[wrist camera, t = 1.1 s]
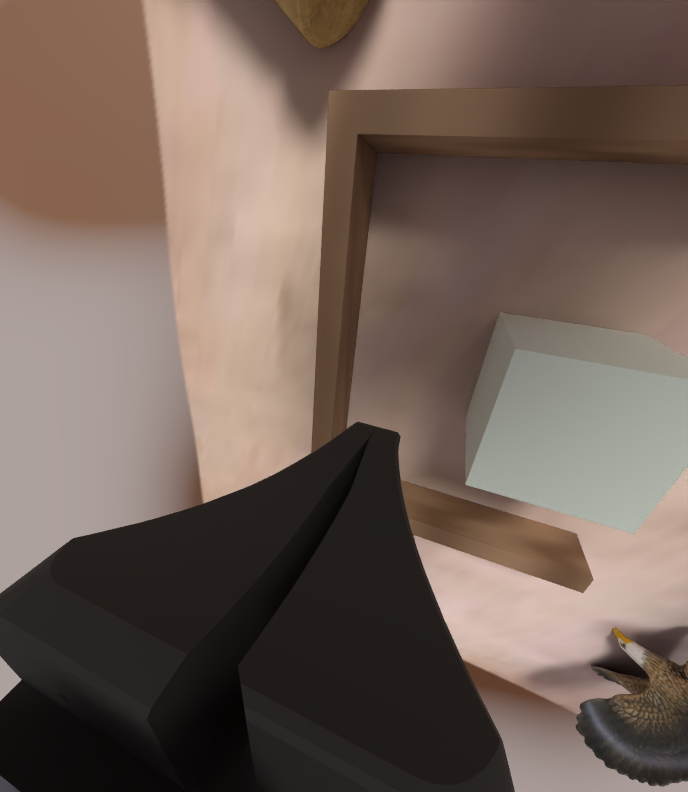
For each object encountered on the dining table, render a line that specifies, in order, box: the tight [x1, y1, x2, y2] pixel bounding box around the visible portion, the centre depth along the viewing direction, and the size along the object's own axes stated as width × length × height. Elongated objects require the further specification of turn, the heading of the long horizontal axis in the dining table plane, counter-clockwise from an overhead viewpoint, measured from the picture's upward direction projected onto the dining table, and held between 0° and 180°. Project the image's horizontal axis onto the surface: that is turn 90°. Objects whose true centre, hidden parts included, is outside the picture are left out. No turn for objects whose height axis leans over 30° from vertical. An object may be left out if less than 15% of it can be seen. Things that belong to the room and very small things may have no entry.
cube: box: [465, 312, 688, 534], centre depth 13 cm, size 6×6×6 cm
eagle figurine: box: [576, 628, 688, 786], centre depth 18 cm, size 8×7×9 cm
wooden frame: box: [311, 85, 688, 593], centre depth 15 cm, size 16×20×3 cm
